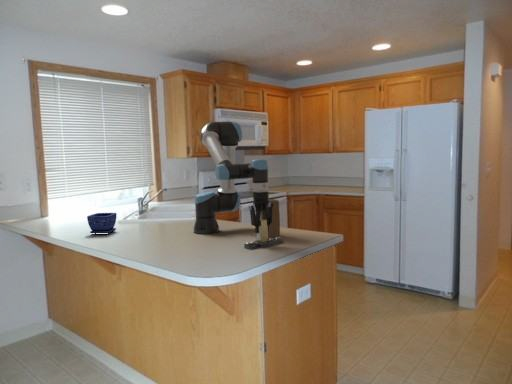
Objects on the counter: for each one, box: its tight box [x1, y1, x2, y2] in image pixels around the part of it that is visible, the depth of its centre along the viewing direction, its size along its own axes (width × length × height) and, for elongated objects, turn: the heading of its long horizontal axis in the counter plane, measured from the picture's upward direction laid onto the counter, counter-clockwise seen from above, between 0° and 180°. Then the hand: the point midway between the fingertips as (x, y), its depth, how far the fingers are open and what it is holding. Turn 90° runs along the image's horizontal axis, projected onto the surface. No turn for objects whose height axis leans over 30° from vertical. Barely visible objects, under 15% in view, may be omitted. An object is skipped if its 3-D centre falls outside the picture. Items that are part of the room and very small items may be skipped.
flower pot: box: [86, 212, 117, 234], centre depth 237 cm, size 13×13×12 cm
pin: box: [257, 219, 267, 243], centre depth 189 cm, size 3×3×12 cm
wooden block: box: [260, 198, 281, 239], centre depth 208 cm, size 10×10×20 cm
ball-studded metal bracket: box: [243, 236, 284, 250], centre depth 190 cm, size 8×21×3 cm, turn 125°
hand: (262, 238), depth 189 cm, fingers closed on pin, 3 cm apart
